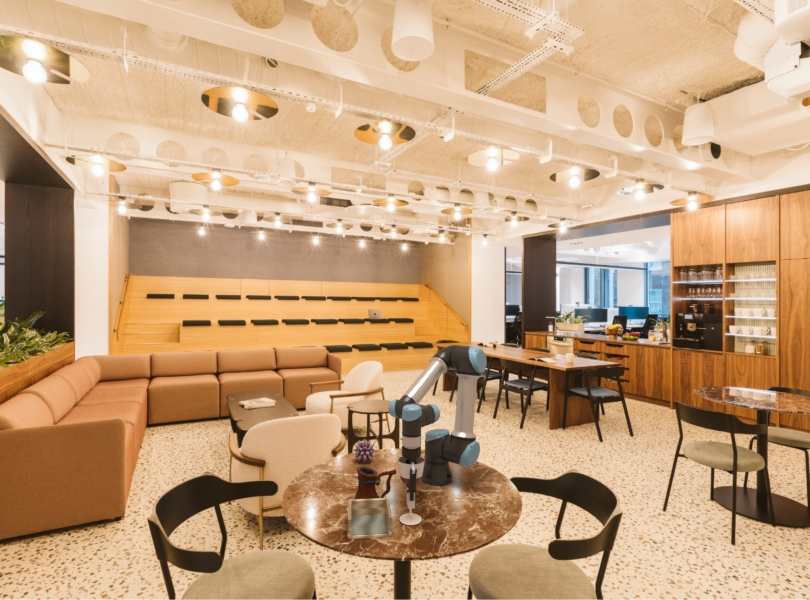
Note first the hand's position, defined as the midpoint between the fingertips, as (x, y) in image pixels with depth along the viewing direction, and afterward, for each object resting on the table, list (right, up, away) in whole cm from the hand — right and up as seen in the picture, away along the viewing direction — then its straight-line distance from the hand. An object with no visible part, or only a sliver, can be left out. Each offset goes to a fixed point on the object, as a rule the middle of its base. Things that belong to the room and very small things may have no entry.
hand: (410, 506), depth 160 cm
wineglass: (0, -5, 0) cm, 5 cm away
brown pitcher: (-15, -5, +12) cm, 20 cm away
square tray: (-16, -5, -5) cm, 17 cm away
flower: (-24, -6, +57) cm, 62 cm away
